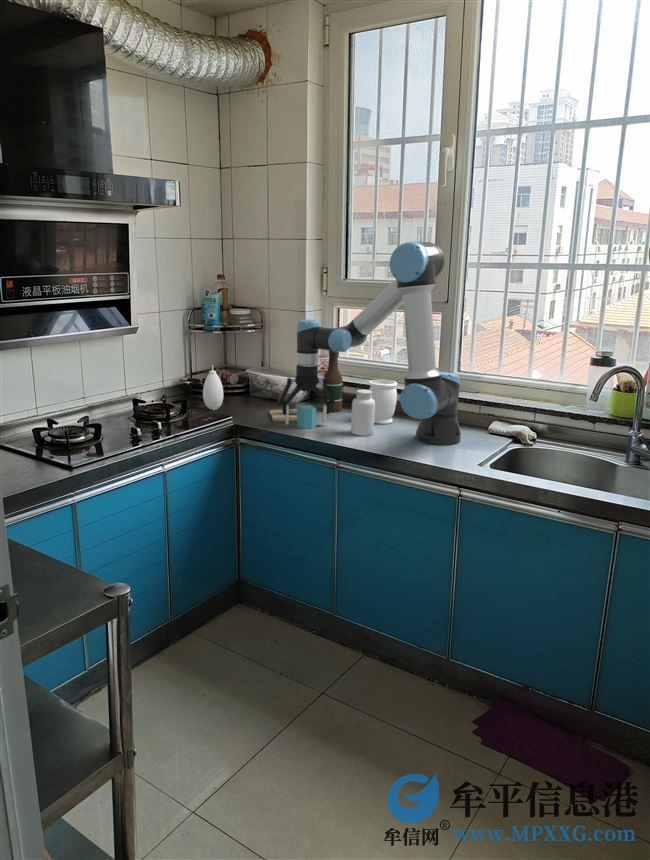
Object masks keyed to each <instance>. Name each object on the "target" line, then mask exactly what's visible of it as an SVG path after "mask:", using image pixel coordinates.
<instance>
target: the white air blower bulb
mask: <svg viewBox="0 0 650 860" xmlns="http://www.w3.org/2000/svg"><path fill="white" fill-rule="evenodd" d="M202 399H203V402H204V405H205V406H206V408H208V409H209V410H211V409H212V410H211V411H216V410H218V409H219V408H220V407H221V406H222V404H223V400H224V387H223V384H222V380H221V378H220V377H219V375H218V374H217V371H216V370H214V365H213V364H212V365H211V370H209V372H208V374H207V376H206V378H205V381H204V384H203V388H202Z"/></svg>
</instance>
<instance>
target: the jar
mask: <svg viewBox="0 0 650 860" xmlns="http://www.w3.org/2000/svg"><path fill="white" fill-rule="evenodd" d="M368 385H369V386H370V387H369V389H368V390H370V391H372V397H371V398H372V399H373V400H374V401H375V417H374V424H379V425H380V424H381V425H388V424H391V423H393V422H394V419H393V418H392V417H393V416H394V414H395V411H396V405H397V399H398V392H397V391H398V390H397V386H398V382H397V381H395V380H389V379H372V380H369V381H368Z"/></svg>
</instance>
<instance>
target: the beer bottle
mask: <svg viewBox="0 0 650 860" xmlns="http://www.w3.org/2000/svg"><path fill="white" fill-rule="evenodd" d="M328 353H329V354H328V363H327V365H328V366H327V370H326V372H325V373H324V375H323V377H324V378H326V381H327V386H328V388H329V390H330V392H331V395H332V397H333V399H334V401H335V403H334V404H331V405H330V406H329V413H339V412H341V411H342V408H343V407H342V406H343V384H344V383H343V377H342V374H341V372H340V371H339V359H338V357H339V356H338V354H339V352H335V351H329V350H328ZM321 393H322V394H323V396H324V397H325V398H326V399H327V401H329V400H330V399H329V397H328V395H327V393H326V391H325V389H324V387H323V386H322V392H321ZM323 404H326V403H325V402H324V401H323V400H322V399H321V406H322V409H321V410H323Z"/></svg>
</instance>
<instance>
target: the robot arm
mask: <svg viewBox="0 0 650 860" xmlns="http://www.w3.org/2000/svg"><path fill="white" fill-rule="evenodd" d="M445 263H446V260H445V254H444V252H443V250H442V249H441V248H440V246H438V245H437V244H436V243H433V242H427V241H426V242H425V241H424V242H423V241H416V240H415V241H408V242H407V241H406V242H403V243H401V244H399V245H398V246H397V247H396V248H394V251H392V253H391V255H390V258H389V270H390V273H391V275H392V276H393V277H394V279H395V280H394V281H392V282H391V283H390V284H389V285H388V286H387V287H386V288H384V290H383V291H382V292H380V293H379V295H377V296H376V297H375V298H374V299H373V300H372V301H371V302H370V303H369V304H368V305H367V306H366V307H365V308H364V309H362V310H361V312H360V313H358V315H356V316H355V317H354V318H353V319H352V320H351V321H350V322H349V323H348V324H347V325H344V326H340V327H334V328H333V327H322V326H320V322H319V320H317V319H300V320H299V321H298V322H297V329H296V364H297V365H296V371H295V374H296V376H295V378H292V377H290V376H289V377H287V379H286V384H285V386H284V388H283V390H282V392H281V393H280V396H279V397H278V399H277V404H278V405H281V406H282V410H283V415H285V423H284V424H285V425H289V424H290V423H289V406H288V403H289V402H290V401H291V400H292V399H293V397H294V396H295V395H296V396H297V395H298V393H299V392H300V391H302V392H306V391H307V392H312V391H313V390H314V391H315V393H316V394H317V395H318V396H319V398H320V399H321V401H322V400H323V401H324V402H325V403H326V404H323V409H322V422H323V424H324V425H325V424H327V415H329V414H330V412H329V406H330V405H331V404H334V403H335V401H334V399H333V397H332V395H331V392H330V390H329V388H328V386H327V381H326V378H324V376H322V377H321V378H318V377H319V376H318V371H319V370H318V369H319V366H318V364H319V350H322V351H323V350H324V351H328V352H329V351H335V352H338V353H339V352H340V353H346V352H347V351H348V350H349V349H350V348H353V347H358V346H361V345H362V344H364V343H365V342H366V341H367V338H368V336H369V335H370V334H371V333H372V332H373V331H374V330H376V328H377V327H378V326H380V325H381V324H382V323H383V322H384V321H385V320H386V319H388V317H390V316H391V315H392V314H393V313H394V312H395V311H396V310H398V308H400V307H401V306H402V305H403V312H404V313H403V315H404V326H405V328H404V329H405V339H406V340H405V341H406V343H405V344H406V354H407V368H408V369H407V370H408V371H407V373H406V374H405V375H404V377H403V379H404V388H403V389H402V390H401V393H400V395H399V403H400V405H401V409H402V410H403V412H404V413H405V414H407V416H409V418H410V417H411V418H412V419H415V420H420V421H419V422H418V426H417V428H416V431H415V439H416V440H418V441H419V442H422V443H425V444H430V445H435V446H437V445H439V446H447V445H456V444H458V443H460V442H461V438H462V437H461V436H462V433H461V429H460V425H459V421H458V410H459V409H458V408H459V397H460V386H461V383H460V382H461V381H460V380H461V379H460V377H461V376H460V375H459V374H457V373H453V372H446V371H439V370H438V369H437V367H436V366H437V364H436V352H435V337H434V336H435V335H434V334H435V332H434V321H433V305H432V290H433V289H434V288H435V286H436V279H437V278H438V277H439V276H440V275H441V274H442V272H443V270H444V267H445ZM294 383H295V385H296V386H294V389H292V391H291V392H289V391H290V388H291V386H292V385H293V384H294ZM319 383H320V385H322V388H323V387H324V389H325V391H326V393H327V395H328V397H329V399H330V400H329V401H327V399H326V398H325V397H324V396H323V394H322V392H321V391H320V389H319V388H318V387H317V385H318V384H319ZM288 392H289V393H290V394H289V393H288ZM287 394H289V396H288V395H287ZM286 396H287V397H286ZM285 397H286V398H285Z"/></svg>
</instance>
